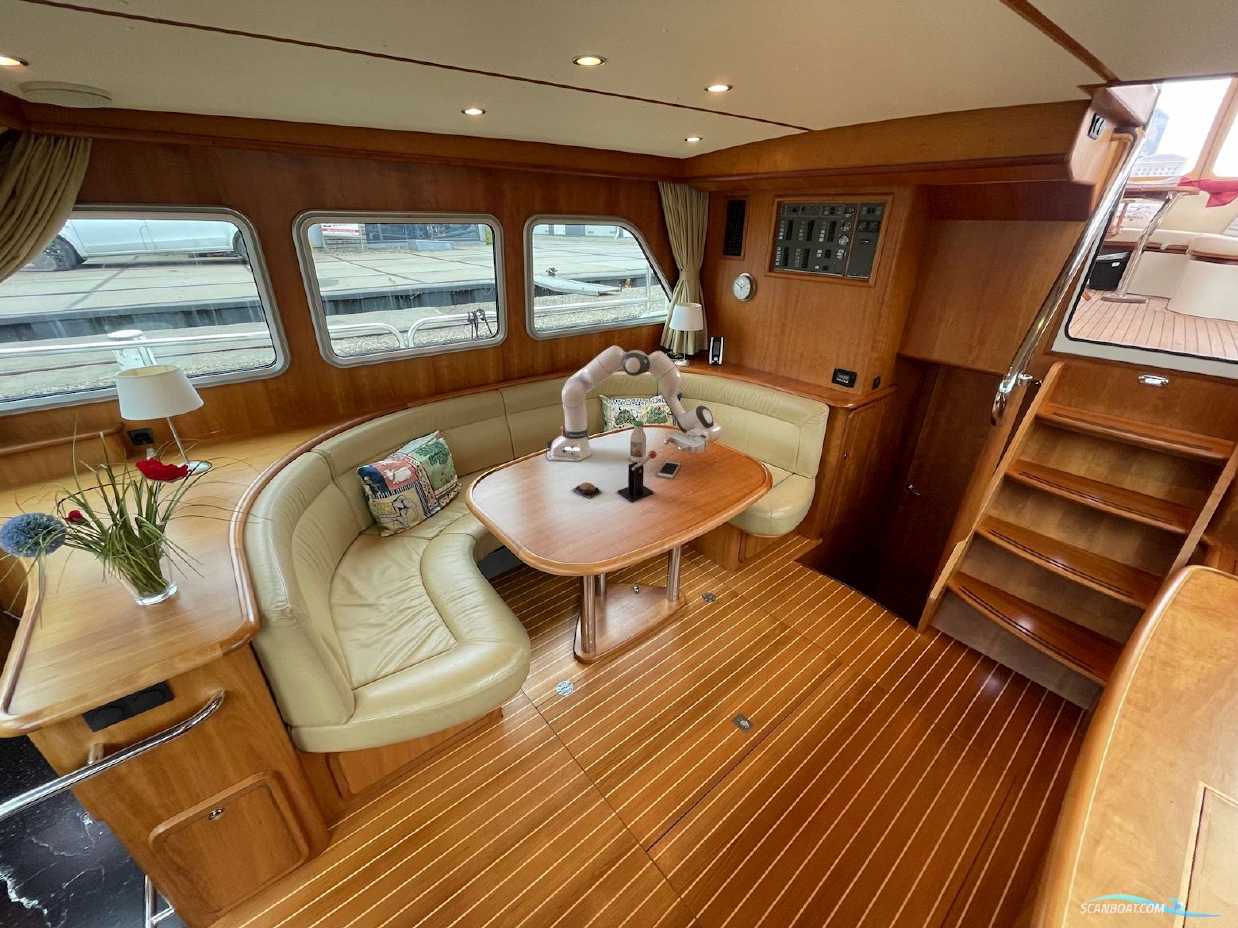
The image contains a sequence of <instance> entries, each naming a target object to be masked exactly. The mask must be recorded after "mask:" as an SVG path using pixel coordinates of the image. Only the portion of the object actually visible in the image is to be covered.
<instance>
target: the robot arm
mask: <svg viewBox="0 0 1238 928" xmlns="http://www.w3.org/2000/svg"><path fill="white" fill-rule="evenodd" d="M621 369H623V372H625V374H627V375H629V377H638V376H640V375H642V374H646V373H650V374H651V375H652V376H653V378H654V379H655V381H656V382H657V383H658V385H659V387H660V390H661V397H662V398H663V400H664V402H665V404H666V406H667V407H668V409H669V410H670V413H671V414H672V416H673V418H674V419H675V422H676V424H677V427H678V428H679V430H673V431H669V432H668V431H667V432H666V433H665V437H664V438H665V439H664V440H663V445H665V446H667V445H669V444H671V445H675V446H677V447H678V452H680V453H682V452H690V453H692V454H694V455H698V454H701V453H706V452H707V451H708V449H709V448H708V447H709V445H710V444H712V443H714V442H717V441H718V440H719V439H720V438H721V436H722V434H723V428H722V426H721V424H720V423H719V422H717V421H716V420H715V419H714V417H713V414H712V411H711V410H710V409H709V408H708V407H707V406H705V405H698V406H696V407H695V408H692V409H691V410H689V411H686V410H685V408H684V407H683V405H682V403H681V402H680V400H679V398H678V392H679V389H680V387H681V385H682V382H683V375H682V373H681V371H680V370H679V368H678V367H677V366H676V364H675V363H674V361H672V359H670V357H669V356H668V355H667V354H666V353H665V352H663V351H661V350H656V351H653V352H652V353H650V354H647V353H646V352H645V351H644V350H641V349H632V350H626V351H624V350H623V348H622V347H621V346H618V345H612V346H611V345H610V347H608V348H606V349H605V350H603V351H601V353H599V354H598V355H597V356H596V357H594V358H593V359H592V360H591V361H590V362H589V363H587V364H586V365H584V367H582V368H581V369H579V370H578V371H576V372H575V373H574V374H572V375H571V376H570V377H569V378H568V379H567V380H566V381H565V384H564V386H563V387H562V390H561V402H562V408H563V413H564V414H563V415H564V426H563V425H562V426H560V431H561V433H560V435H559V436H558V437H556V438H555V439H554V438H552V439H550V440H548V441H547V449H548V450H550V451H548V450H547V452H546V457H547V459H548V460H549V461H560V462H561V461H563V462H581V461H582V460H584V459H586V458H588V457H590V456H591V455H592V451H591V448H590V443H589V442H590V441H589V434H590V433H589V426H588V412H587V406H586V405H587V404H586V395H587V394H588V393H589V392H591V390H593V389H594V388H596V387H598V386H600V385H602V384H603V383H605V381H606V380H607V379H609V378H610V377H611V376H612V375H613V374H615V373H616V372H617V371H619V370H621Z"/></svg>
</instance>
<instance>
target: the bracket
mask: <svg viewBox="0 0 1238 928" xmlns="http://www.w3.org/2000/svg"><path fill="white" fill-rule="evenodd" d="M635 464H637V465H639V462H634V461H633V462H631V463H628V465H627V466H628V468H627V469H628V471H627V472H628V473H627V474H628V475H627V484H628V485H627V487H624V488H622V489H618V490H617V493H618V494H619V495H620V496H622V497H623V498H624V499H626V500H627V501H629V502H630V503H634V502H636V501H640V500H641V499H644V498H647V497H649V496H651V495H654V491H653V490H652V489H650V488H649V487H647V486H646V485H644V469H645V468H644V467H645V465H641V466H638V467H635V468H634V472H633V471H632V469H631V468H632V467H633V466H634V465H635Z"/></svg>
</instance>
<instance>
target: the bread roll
mask: <svg viewBox="0 0 1238 928" xmlns="http://www.w3.org/2000/svg"><path fill="white" fill-rule="evenodd" d="M572 490H573V492H575V493H577V494H578V495H581V496H583V497H586V498H587V499H591V498H594V497H596V496H598V495H599V494H601V493H602V491H601V490H600V489H599V487H597V486H595V485H594V484H593V483H590V482H582V483H580V484H579V485H576V487H575V488H573V489H572Z"/></svg>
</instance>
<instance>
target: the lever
mask: <svg viewBox="0 0 1238 928" xmlns="http://www.w3.org/2000/svg"><path fill="white" fill-rule="evenodd" d="M647 453H648V454H647V455H648V456H646V458H645V459H644V460H643V461H642V462H639V463H638V465H637V464H635V465H634V466H633V467H632V468H631V469H632V471H633V472H634V468H635V467H638V466H641V465H643V466H645V464H646V463H647V462H649V460H651V459H652V460H653V459H655V458H657V452H656V450H655V449H654V450H653V449H651V450H649V451H648V452H647Z"/></svg>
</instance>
